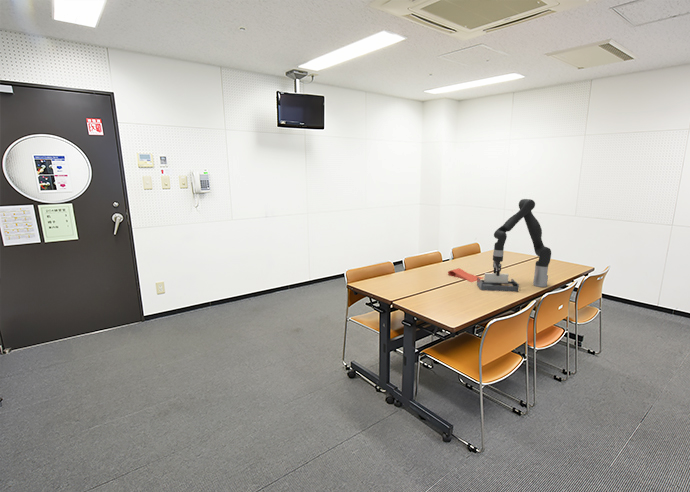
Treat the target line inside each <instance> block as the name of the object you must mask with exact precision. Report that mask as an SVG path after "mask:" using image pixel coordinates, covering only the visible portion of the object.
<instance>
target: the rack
mask: <svg viewBox="0 0 690 492" xmlns="http://www.w3.org/2000/svg"><path fill="white" fill-rule="evenodd" d="M501 284H512V285H513V286H501ZM476 286H477V287H478V288H479V289H480V291H494V292H495V291H496V292H515V293H518V292H519V290H520V289H519V288H520V284H519V283H518V282H516V280H514V279H513V278H511V279H510V280H508V283H496V282H484V279H479V278H477V281H476Z"/></svg>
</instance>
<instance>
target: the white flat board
mask: <svg viewBox="0 0 690 492" xmlns="http://www.w3.org/2000/svg"><path fill="white" fill-rule="evenodd" d="M496 273H497V272H496ZM496 273H492V272H484V275H483V280H484V282H496V283H508V281H509V274H508V273H500V274H499V276H496Z"/></svg>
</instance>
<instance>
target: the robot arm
mask: <svg viewBox="0 0 690 492" xmlns="http://www.w3.org/2000/svg"><path fill="white" fill-rule="evenodd" d="M535 207H536V202H535V200H533V199H528V198H521V199H520V201H519V202H518V209H519V210H518V211H517V212H516V213H514V214H513V215H512V216H510V217H509V218H508V219H507V220H506V221H505V222H504V223H503V225H501V226H500V227H499V228H497V229H496V230H495V231H494V233H493V237H494V238H495V239H496V240H497V241H496V242H494V245H493V246H494V247H493V255H492V261H493V264H492V267H493V273H496V276H499V274H501V271H502V263H501V262H503V260H504V248H505V247H504V246H505V244H506V241H507V237H508V236H507V235H508V234H507V233H508V232H511V230H513V229H514V228H515V226H516V225H517V224H518V223H519V222H520V221H521V220H522V219H524V222H525V225H526V227H527V231H528V233H529V236H530V239H531V241H532V244H533V248H534V252H535V254H536V256H538V260H537V261H535V266H534V275H533V283H532V285H533V286H534V287H538V288H547V287H548V281H549V280H548V279H549V275H548V270H549V265H550V262H551V258H552V250H551V249H550V247H547V246H545V245H544V242H543V240H542V237H543V230H542V226H541V224H540V222H539V220H538V219H537V218H536V216H535V215H534V213H533V212H532V211H533V210H534V209H535Z"/></svg>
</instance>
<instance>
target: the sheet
mask: <svg viewBox="0 0 690 492" xmlns="http://www.w3.org/2000/svg"><path fill="white" fill-rule="evenodd" d="M447 273H448V276H449V277H455V278H460V279H463V280H465V281H467V282H470V283H474V282H477V278H479V279H480V280H484V276H483V277H482V276H478V275H474V274H472V273H468V272H467V271H465V270H463V269H461V268H459V267H458V268H455V269H451V270H448V271H447Z"/></svg>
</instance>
